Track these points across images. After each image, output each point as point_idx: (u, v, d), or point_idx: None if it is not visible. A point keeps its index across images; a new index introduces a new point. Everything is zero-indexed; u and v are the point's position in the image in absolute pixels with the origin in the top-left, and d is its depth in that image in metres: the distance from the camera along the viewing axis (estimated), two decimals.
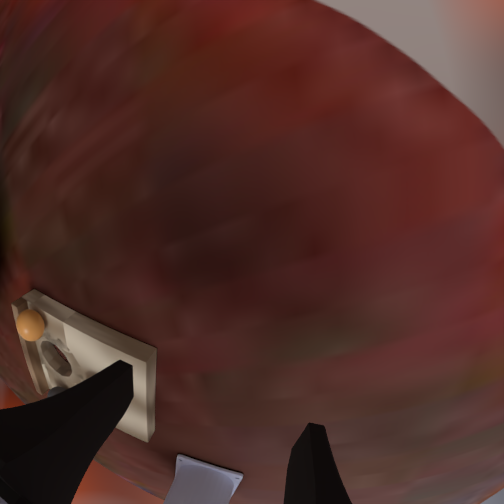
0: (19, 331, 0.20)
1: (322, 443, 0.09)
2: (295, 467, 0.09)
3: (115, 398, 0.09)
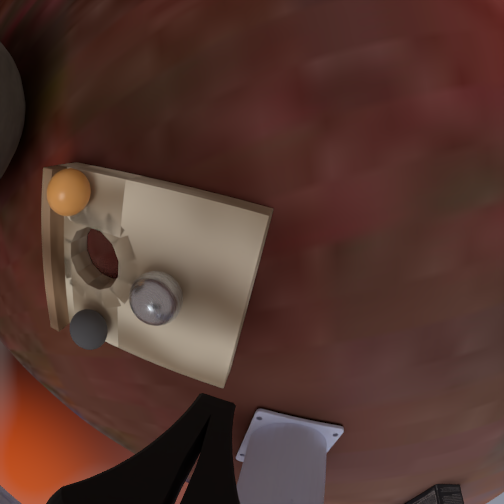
0: (51, 194, 0.14)
1: (223, 419, 0.09)
2: (203, 443, 0.09)
3: (203, 435, 0.09)
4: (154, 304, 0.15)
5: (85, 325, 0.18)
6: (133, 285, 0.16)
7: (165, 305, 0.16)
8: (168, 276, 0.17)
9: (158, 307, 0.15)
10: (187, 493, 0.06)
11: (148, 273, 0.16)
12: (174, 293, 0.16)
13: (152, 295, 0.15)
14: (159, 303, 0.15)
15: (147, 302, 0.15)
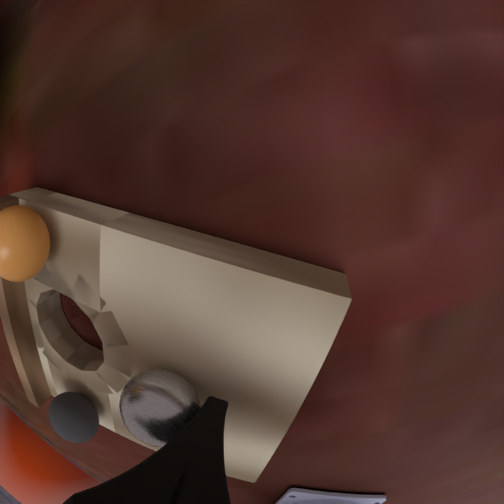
0: None
1: (215, 417, 0.09)
2: None
3: None
4: (156, 431, 0.08)
5: (67, 419, 0.11)
6: (124, 393, 0.09)
7: (173, 432, 0.09)
8: (178, 384, 0.10)
9: (162, 434, 0.09)
10: (177, 489, 0.06)
11: (146, 378, 0.10)
12: (187, 413, 0.09)
13: (152, 419, 0.09)
14: (164, 430, 0.09)
15: (145, 427, 0.08)
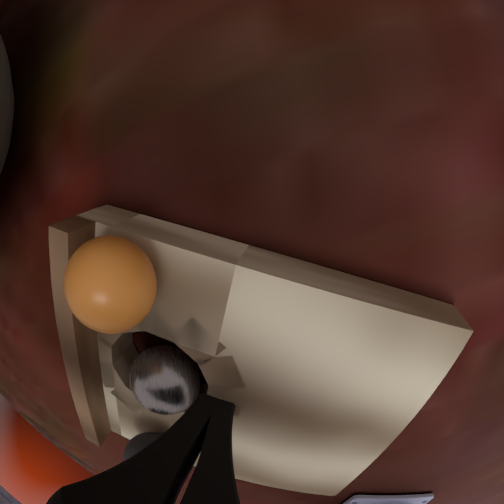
0: (77, 301, 0.07)
1: (223, 419, 0.09)
2: None
3: (203, 435, 0.09)
4: None
5: None
6: (188, 403, 0.11)
7: None
8: (160, 363, 0.11)
9: (193, 361, 0.13)
10: (187, 493, 0.06)
11: (173, 389, 0.11)
12: (172, 348, 0.12)
13: (195, 368, 0.12)
14: (192, 360, 0.12)
15: (199, 373, 0.12)
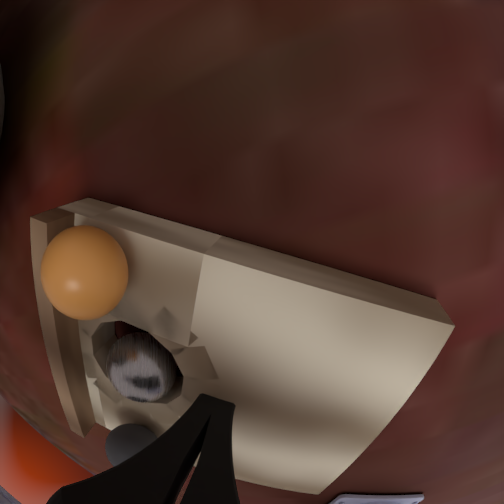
0: (51, 287, 0.07)
1: (223, 419, 0.09)
2: None
3: (203, 435, 0.09)
4: None
5: None
6: (160, 390, 0.11)
7: None
8: (136, 346, 0.11)
9: None
10: (187, 493, 0.06)
11: (146, 372, 0.11)
12: (151, 335, 0.12)
13: (171, 357, 0.12)
14: None
15: None
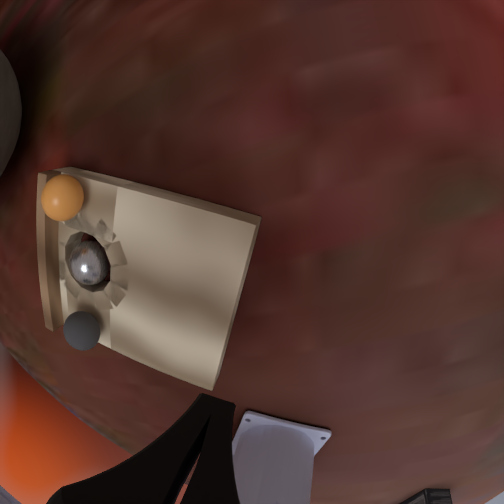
0: (45, 200, 0.15)
1: (223, 419, 0.09)
2: None
3: (203, 435, 0.09)
4: None
5: (78, 326, 0.18)
6: (95, 270, 0.18)
7: None
8: (88, 242, 0.19)
9: None
10: (187, 493, 0.06)
11: (89, 255, 0.18)
12: (99, 243, 0.20)
13: None
14: None
15: None
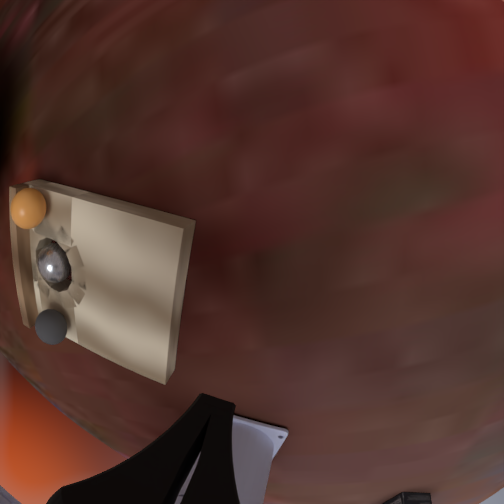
0: (13, 211, 0.16)
1: (223, 419, 0.09)
2: (203, 443, 0.09)
3: (203, 435, 0.09)
4: None
5: (46, 322, 0.19)
6: (56, 268, 0.19)
7: None
8: (54, 244, 0.20)
9: None
10: (187, 493, 0.06)
11: (52, 254, 0.19)
12: None
13: None
14: None
15: None
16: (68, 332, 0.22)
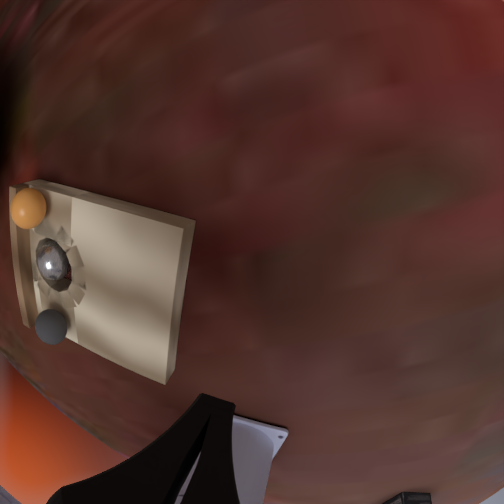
0: (13, 211, 0.16)
1: (223, 419, 0.09)
2: (203, 443, 0.09)
3: (203, 435, 0.09)
4: None
5: (46, 322, 0.19)
6: (54, 263, 0.19)
7: None
8: (54, 241, 0.20)
9: None
10: (187, 493, 0.06)
11: (52, 249, 0.19)
12: None
13: None
14: None
15: None
16: (68, 332, 0.22)
